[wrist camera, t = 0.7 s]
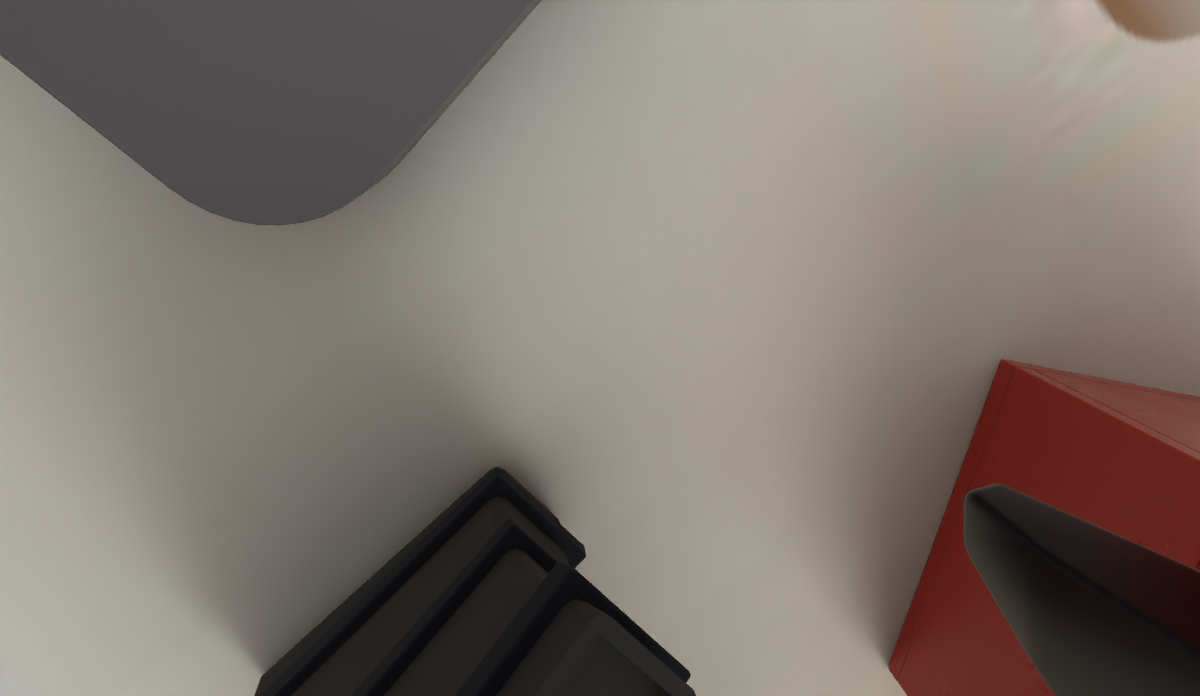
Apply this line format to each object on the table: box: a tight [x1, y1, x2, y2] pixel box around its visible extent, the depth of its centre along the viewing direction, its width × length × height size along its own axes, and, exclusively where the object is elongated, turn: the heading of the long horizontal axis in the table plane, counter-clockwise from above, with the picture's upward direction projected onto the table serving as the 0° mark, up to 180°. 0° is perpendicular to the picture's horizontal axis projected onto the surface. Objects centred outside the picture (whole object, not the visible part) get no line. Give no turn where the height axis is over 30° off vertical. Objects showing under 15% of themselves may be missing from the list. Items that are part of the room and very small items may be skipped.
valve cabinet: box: [889, 360, 1200, 696], centre depth 24 cm, size 12×9×10 cm
